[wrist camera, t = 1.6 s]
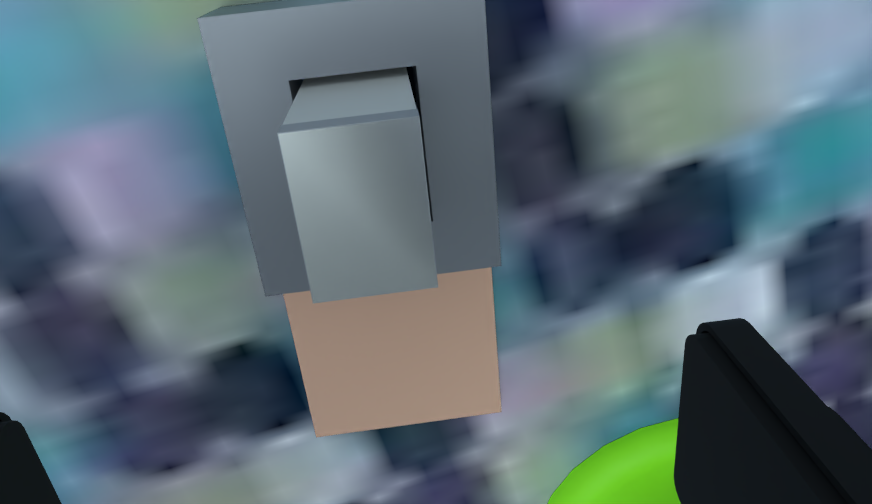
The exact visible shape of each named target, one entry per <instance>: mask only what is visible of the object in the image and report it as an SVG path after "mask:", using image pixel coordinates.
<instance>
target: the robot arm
mask: <svg viewBox="0 0 872 504" xmlns="http://www.w3.org/2000/svg"><path fill="white" fill-rule="evenodd" d="M674 484H675V488H676V492H677V495H678V498H679V500H680V502H681V504H872V450H871V448H870V447H869V446H868V445H867V444H866V443H865V442H864V441H863V440H862V439H861V438H860V437H859V436H858V435H857V434H856V432H855V431H854V430H853V429H852V428H851V427H850V426H849V425H848V424H847V423H846V422H845V421H844V420H843V419H842V418H841V417H840V415H838V414H837V413H836V412H835V411H834V410H832V409H831V408H830V407H827V406H826V405H825V404H824V403H823V401H822V400H821V399H820V398H819V397H818V396H817V395H816V394H815V393H814V392H813V391H812V390H811V389H810V388H809V386H808V385H807V384H806V383H805V382H804V381H803V380H802V379H801V378H800V377H799V376H798V375H797V374H796V372H795V371H794V370H793V369H792V368H791V367H790V366H789V365H788V364H787V363H786V362H785V361H784V360H783V359H782V357H781V356H780V355H779V354H778V353H777V352H776V351H775V350H774V349H773V348H772V347H771V346H770V345H769V343H768V342H767V341H766V340H765V339H764V338H763V337H762V336H761V335H760V334H759V333H758V332H757V331H756V330H755V328H754V327H753V326H752V325H751V324H750V323H749V322H748V321H746V320H745V319H741V318H738V319H730V320H722V321H714V322H706V323H702V324H700V325H699V327H698V328H697V332H696V334H693V335H689V336H688V337H687V338H686V342H685V350H684V361H683V373H682V384H681V395H680V407H679V418H678V430H677V441H676V453H675V464H674ZM0 504H61V502H60V500H59V498H58V496H57V494H56V492H55V489H54V487H53V485H52V483H51V481H50V479H49V477H48V475H47V473H46V471H45V469H44V467H43V465H42V463H41V461H40V459H39V457H38V455H37V453H36V451H35V449H34V447H33V445H32V443H31V441H30V439H29V437H28V435H27V433H26V431H25V428H24V427H23V426H22V424H21V423H19V422H18V421H12V420H11V419H10V417H9V416H8V415H6V414H5V413H3V412H0Z"/></svg>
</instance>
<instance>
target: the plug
mask: <svg viewBox="0 0 872 504" xmlns="http://www.w3.org/2000/svg"><path fill="white" fill-rule="evenodd" d="M277 135H278V140H279V145H280V149H281V154H282V159H283V164H284V168H285V173H286V178H287V183H288V187H289V192H290V197H291V202H292V206H293V211H294V216H295V221H296V225H297V230H298V235H299V240H300V244H301V249H302V254H303V259H304V263H305V268H306V273H307V278H308V283H309V287H310V292H311V297H312V302H313V303H321V302H329V301H337V300H344V299H352V298H360V297H367V296H375V295H383V294H391V293H398V292H406V291H414V290H422V289H429V288H437V287H438V279H437V270H436V261H435V252H434V243H433V234H432V225H431V216H430V207H429V198H428V189H427V180H426V171H425V162H424V153H423V144H422V135H421V126H420V117H419V113H418V109H417V108H416V105H415V101H414V97H413V93H412V89H411V85H410V81H409V77H408V73H407V69H406V67H400V68H392V69H383V70H375V71H366V72H358V73H349V74H341V75H332V76H324V77H315V78H306V79H304V80H303V82H302V84H301V86H300V89H299V91H298V93H297V95H296V97H295V99H294V101H293V103H292V105H291V108H290V110H289V112H288V114H287V116H286V118H285V120H284V122H283V124H282V125H281V126H280V128H279V130H278V132H277Z"/></svg>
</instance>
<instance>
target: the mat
mask: <svg viewBox="0 0 872 504" xmlns="http://www.w3.org/2000/svg"><path fill="white" fill-rule="evenodd" d="M437 279H438V287H437V288H429V289H422V290H414V291H406V292H398V293H391V294H383V295H375V296H367V297H360V298H352V299H344V300H337V301H329V302H321V303H313V302H312V297H311V292H310V291H303V292H295V293H288V294H283V296H284V300H285V304H286V309H287V313H288V317H289V321H290V326H291V330H292V334H293V339H294V343H295V347H296V352H297V356H298V360H299V365H300V369H301V373H302V378H303V382H304V386H305V390H306V395H307V399H308V403H309V408H310V412H311V416H312V421H313V425H314V429H315V434H316V437H322V436H329V435H337V434H344V433H351V432H359V431H366V430H373V429H381V428H388V427H395V426H403V425H410V424H417V423H425V422H432V421H439V420H447V419H454V418H461V417H468V416H476V415H483V414H490V413H498V412H501V399H500V384H499V370H498V355H497V341H496V326H495V312H494V297H493V283H492V269H491V267H490V268H482V269H474V270H467V271H459V272H451V273H443V274H437Z"/></svg>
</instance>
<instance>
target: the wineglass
mask: <svg viewBox="0 0 872 504" xmlns="http://www.w3.org/2000/svg"><path fill="white" fill-rule="evenodd" d="M677 430H678V418H677V419H673V420H670V421H666V422H662V423H658V424H655V425H651V426H647V427H643V428H640V429H638V430H636V431H634V432H631V433H629V434H627V435H625V436H623V437H621V438H619V439H617V440H615V441H613V442H611V443H609V444H607V445H605V446H603V447H602V448H600V449H599V450H598V451H596V452H595V453H594V454H592V455H591V456H590V457H589V458H587V459H586V460H585V461H583V462H582V463H581V464H579V465H578V466H577V467H575V468H574V469H573V470H572V471H571V472H570V474H569V475H568V476H567V477H566V478H565V480H564V481H563V482H562V483H561V484H560V486H559V487H558V488H557V489H556V490H555V492H554V493H553V494H552V495H551V497H550V499H549V501H548V504H681V502H680V500H679V498H678V495H677V492H676V488H675V484H674V464H675V453H676V441H677Z"/></svg>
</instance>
